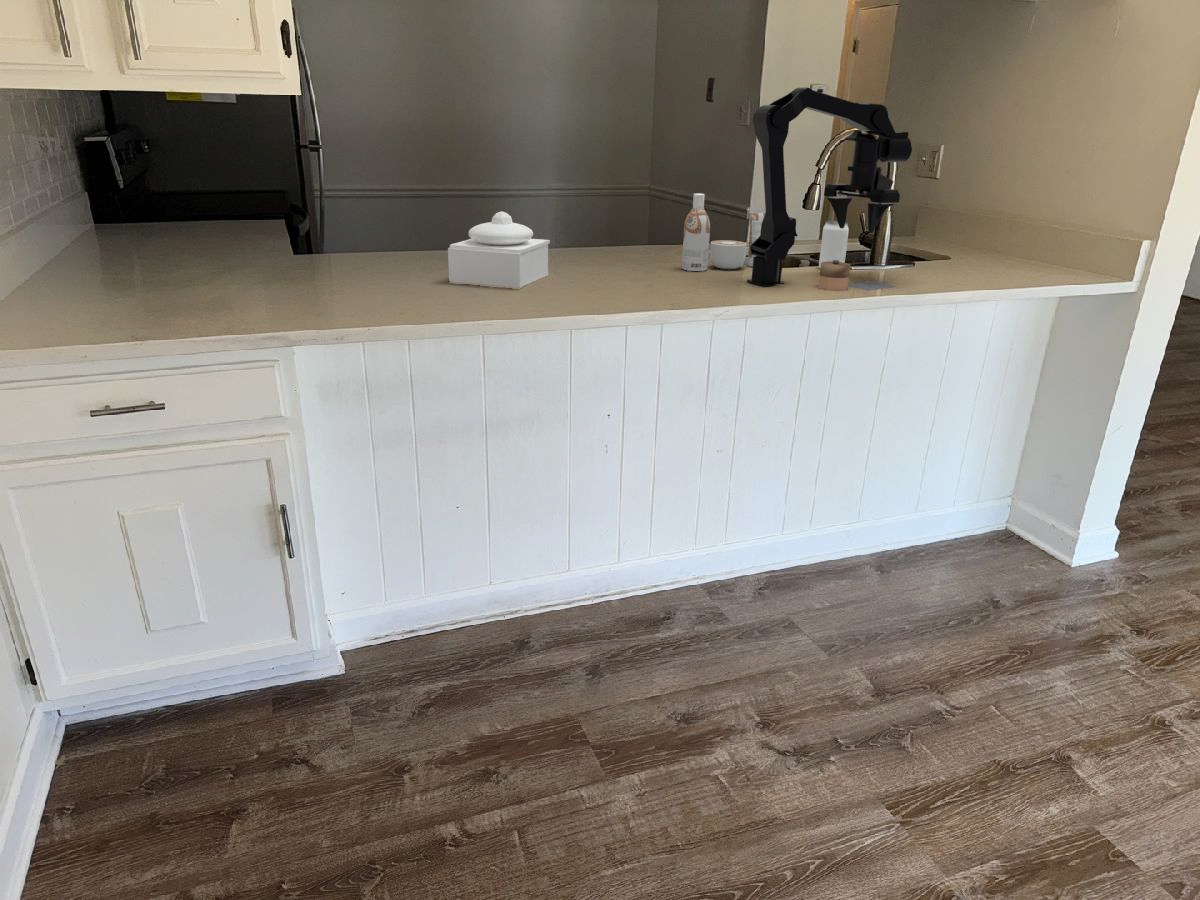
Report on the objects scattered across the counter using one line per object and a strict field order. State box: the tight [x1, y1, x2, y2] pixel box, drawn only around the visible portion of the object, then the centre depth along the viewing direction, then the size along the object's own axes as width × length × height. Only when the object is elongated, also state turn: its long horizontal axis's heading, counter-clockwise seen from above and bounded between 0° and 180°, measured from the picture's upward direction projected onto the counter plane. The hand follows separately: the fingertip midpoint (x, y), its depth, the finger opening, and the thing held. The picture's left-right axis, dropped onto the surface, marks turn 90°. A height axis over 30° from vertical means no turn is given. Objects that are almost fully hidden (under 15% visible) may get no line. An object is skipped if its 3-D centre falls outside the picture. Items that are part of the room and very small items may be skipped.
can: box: [818, 220, 850, 269], centre depth 221 cm, size 6×6×12 cm
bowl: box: [818, 274, 850, 292], centre depth 198 cm, size 6×6×3 cm
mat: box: [848, 280, 898, 291], centre depth 201 cm, size 10×8×1 cm
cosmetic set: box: [681, 192, 766, 272], centre depth 218 cm, size 25×9×19 cm, turn 113°
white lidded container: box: [447, 210, 551, 288], centre depth 197 cm, size 18×18×16 cm
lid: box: [819, 260, 851, 278], centre depth 196 cm, size 7×7×3 cm
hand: (856, 230), depth 204 cm, fingers open, 9 cm apart
